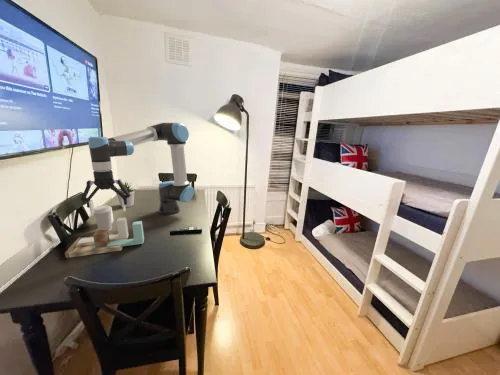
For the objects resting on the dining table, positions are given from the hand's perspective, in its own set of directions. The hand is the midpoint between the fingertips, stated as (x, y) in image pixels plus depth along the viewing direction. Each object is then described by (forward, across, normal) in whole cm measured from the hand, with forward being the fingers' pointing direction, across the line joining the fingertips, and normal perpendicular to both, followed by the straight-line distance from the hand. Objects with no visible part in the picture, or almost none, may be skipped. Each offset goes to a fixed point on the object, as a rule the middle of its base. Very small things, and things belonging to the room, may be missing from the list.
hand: (108, 212), depth 105 cm
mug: (+20, +12, -34) cm, 41 cm away
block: (+18, +5, -1) cm, 18 cm away
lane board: (+20, +7, -5) cm, 22 cm away
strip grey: (+19, +6, -8) cm, 21 cm away
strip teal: (+19, -2, -1) cm, 19 cm away
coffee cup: (+20, +9, -24) cm, 32 cm away
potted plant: (+20, +4, -68) cm, 71 cm away
